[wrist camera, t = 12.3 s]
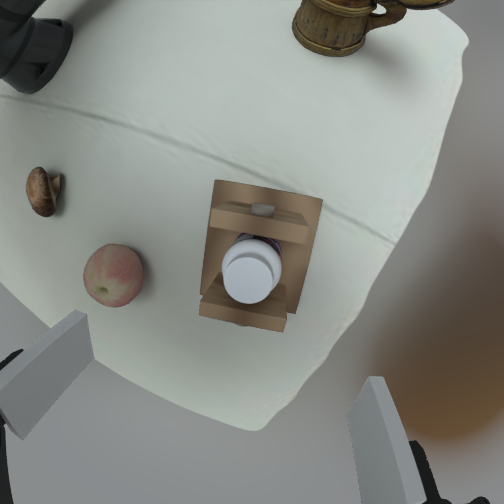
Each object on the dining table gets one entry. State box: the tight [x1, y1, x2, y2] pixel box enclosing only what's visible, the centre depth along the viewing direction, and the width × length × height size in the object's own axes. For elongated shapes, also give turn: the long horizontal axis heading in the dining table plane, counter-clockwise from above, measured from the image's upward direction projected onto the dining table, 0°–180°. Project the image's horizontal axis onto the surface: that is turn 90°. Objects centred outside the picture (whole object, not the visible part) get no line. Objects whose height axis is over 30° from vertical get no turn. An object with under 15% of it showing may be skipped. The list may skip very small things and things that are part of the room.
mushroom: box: [26, 167, 60, 217], centre depth 31 cm, size 8×8×6 cm
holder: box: [199, 180, 323, 332], centre depth 28 cm, size 12×14×10 cm
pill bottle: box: [222, 232, 282, 304], centre depth 26 cm, size 5×5×10 cm
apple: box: [83, 244, 144, 307], centre depth 31 cm, size 8×8×8 cm
